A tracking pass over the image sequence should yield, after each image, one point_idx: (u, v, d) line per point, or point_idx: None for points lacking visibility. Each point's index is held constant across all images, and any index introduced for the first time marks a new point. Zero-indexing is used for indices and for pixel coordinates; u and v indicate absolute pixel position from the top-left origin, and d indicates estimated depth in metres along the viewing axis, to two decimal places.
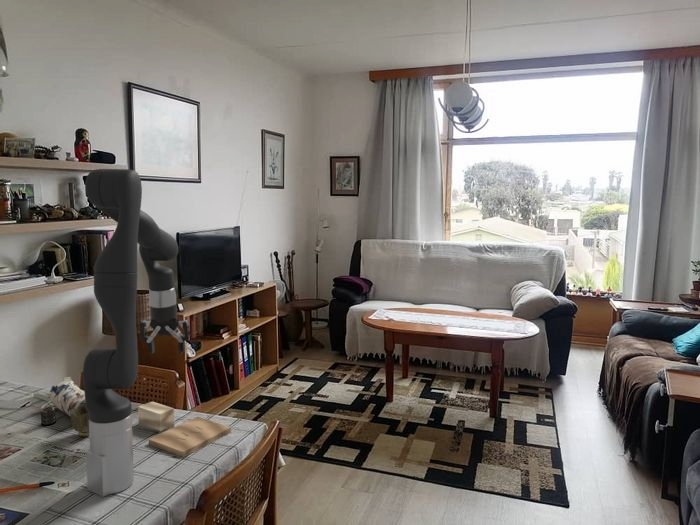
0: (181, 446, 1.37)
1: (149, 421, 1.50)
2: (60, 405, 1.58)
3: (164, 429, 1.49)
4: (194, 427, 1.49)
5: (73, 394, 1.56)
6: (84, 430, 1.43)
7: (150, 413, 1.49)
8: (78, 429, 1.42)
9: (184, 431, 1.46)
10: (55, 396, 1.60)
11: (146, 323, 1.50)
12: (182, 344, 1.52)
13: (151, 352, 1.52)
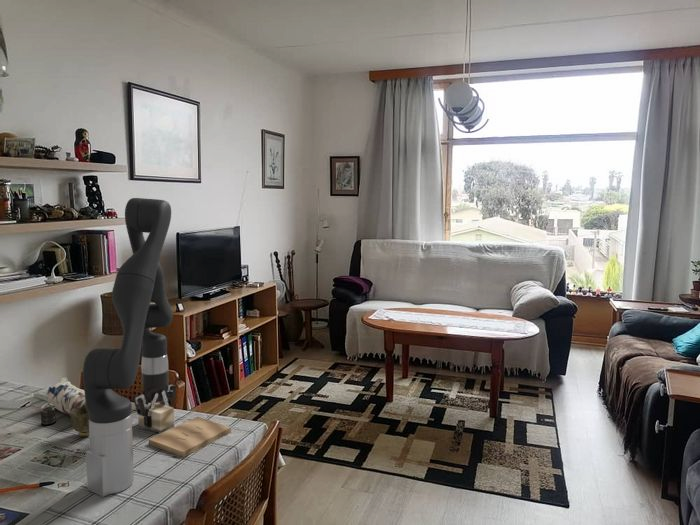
0: (181, 446, 1.37)
1: None
2: (60, 405, 1.57)
3: (164, 429, 1.49)
4: (194, 427, 1.49)
5: (74, 394, 1.56)
6: (84, 430, 1.43)
7: None
8: (78, 429, 1.42)
9: (184, 431, 1.46)
10: (54, 397, 1.60)
11: (142, 397, 1.47)
12: None
13: (151, 425, 1.49)
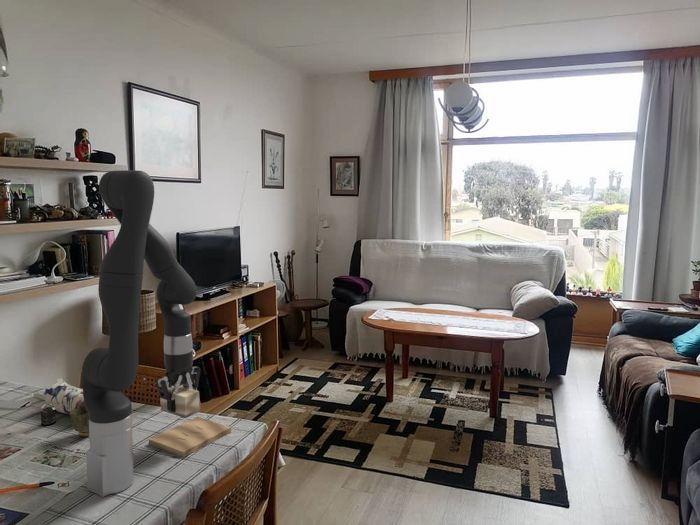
0: (181, 446, 1.37)
1: None
2: (61, 406, 1.57)
3: (189, 413, 1.37)
4: (194, 427, 1.49)
5: (77, 393, 1.57)
6: (84, 430, 1.43)
7: None
8: (78, 429, 1.42)
9: (184, 431, 1.46)
10: (52, 398, 1.59)
11: (165, 379, 1.35)
12: None
13: (174, 410, 1.38)
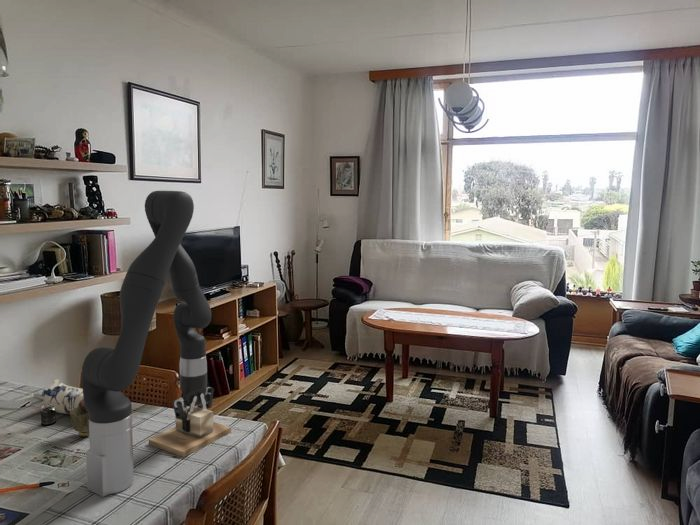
0: (181, 446, 1.37)
1: None
2: (62, 406, 1.57)
3: (203, 433, 1.42)
4: None
5: (78, 393, 1.57)
6: (84, 430, 1.43)
7: None
8: (78, 429, 1.42)
9: None
10: (51, 399, 1.58)
11: (180, 400, 1.40)
12: None
13: (189, 430, 1.43)
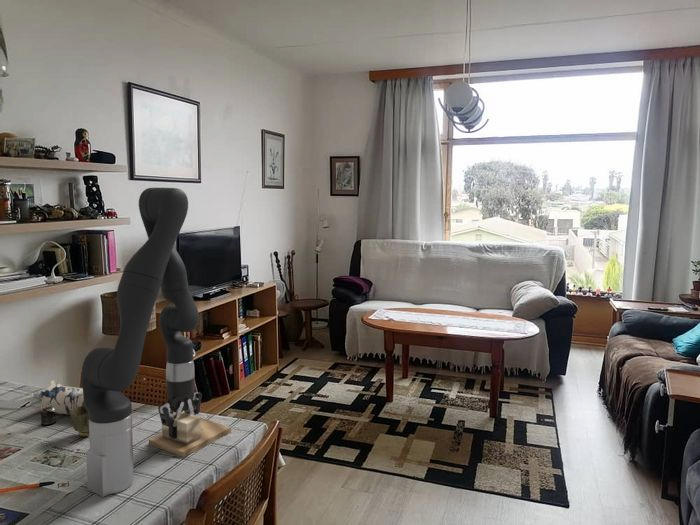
0: (181, 446, 1.37)
1: None
2: (63, 406, 1.57)
3: (191, 440, 1.38)
4: None
5: (80, 392, 1.58)
6: (84, 430, 1.43)
7: None
8: (78, 429, 1.42)
9: None
10: (51, 400, 1.57)
11: (167, 406, 1.36)
12: None
13: (176, 436, 1.39)
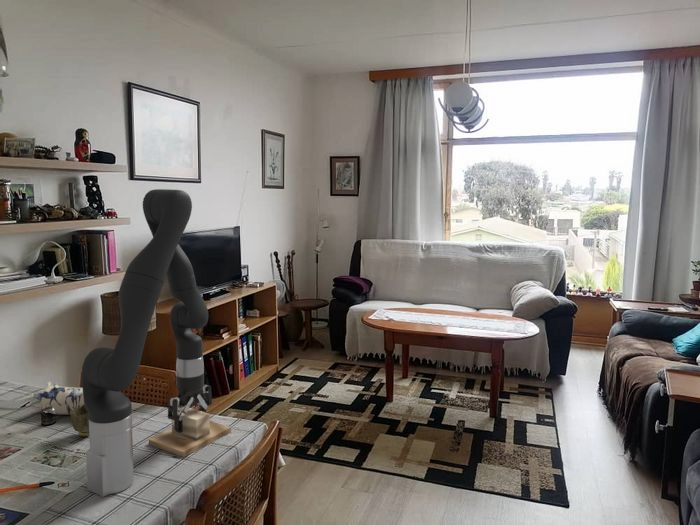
0: (181, 446, 1.37)
1: (184, 427, 1.42)
2: (64, 407, 1.56)
3: (200, 436, 1.41)
4: None
5: (82, 391, 1.58)
6: (84, 430, 1.43)
7: (186, 419, 1.42)
8: (78, 429, 1.42)
9: None
10: (51, 401, 1.56)
11: (177, 399, 1.39)
12: (205, 411, 1.48)
13: (181, 430, 1.40)
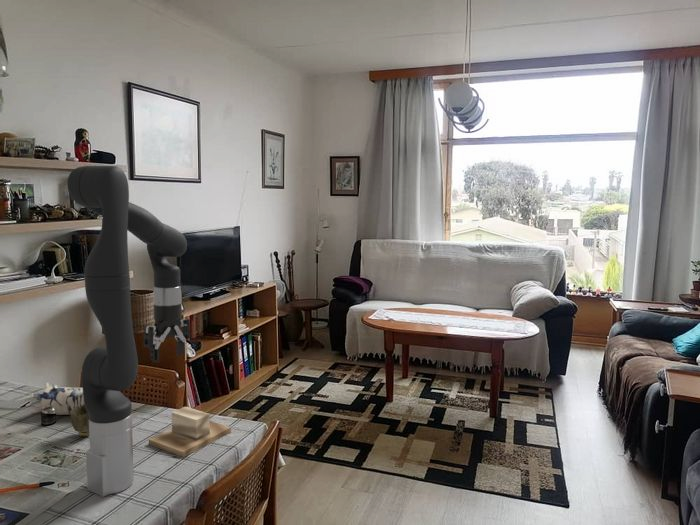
0: (181, 446, 1.37)
1: (184, 427, 1.42)
2: (65, 407, 1.56)
3: (200, 436, 1.41)
4: None
5: None
6: (84, 430, 1.43)
7: (186, 419, 1.42)
8: (78, 429, 1.42)
9: None
10: (51, 401, 1.56)
11: (153, 327, 1.38)
12: (183, 344, 1.47)
13: (158, 359, 1.39)
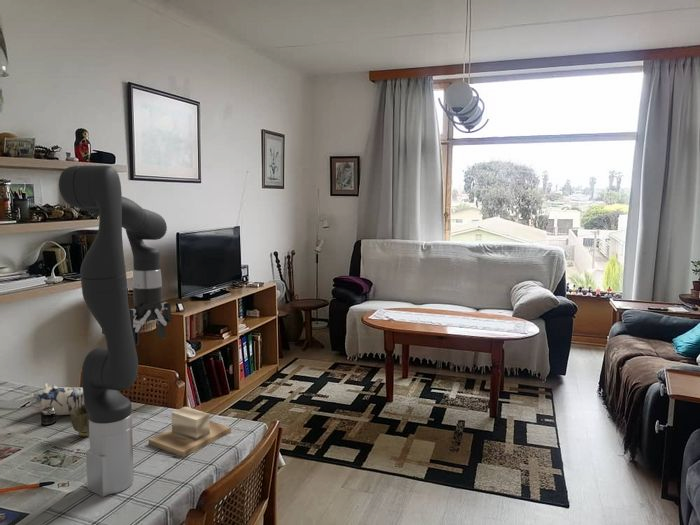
0: (181, 446, 1.37)
1: (184, 427, 1.42)
2: (66, 407, 1.56)
3: (200, 436, 1.41)
4: None
5: None
6: (84, 430, 1.43)
7: (186, 419, 1.42)
8: (78, 429, 1.42)
9: None
10: (51, 402, 1.56)
11: (133, 311, 1.37)
12: (164, 328, 1.47)
13: (138, 343, 1.39)
